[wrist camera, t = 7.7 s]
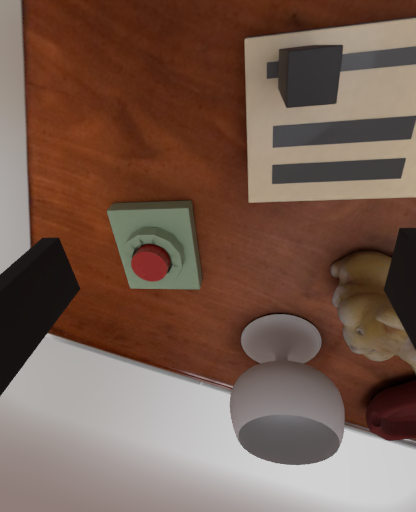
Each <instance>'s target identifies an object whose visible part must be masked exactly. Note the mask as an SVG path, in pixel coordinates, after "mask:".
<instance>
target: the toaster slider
mask: <svg viewBox="0 0 416 512" xmlns="http://www.w3.org/2000/svg"><path fill="white" fill-rule="evenodd" d="M342 53H343V45H310V46H301V47H292V48H283V49H279V68H278V90H279V92H280V94H281V97H282V99H283V101H284V104H285V106H286V108H293V107H305V106H317V105H329V104H336V102H337V94H338V86H339V78H340V69H341V61H342Z"/></svg>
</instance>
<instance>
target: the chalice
mask: <svg viewBox="0 0 416 512" xmlns="http://www.w3.org/2000/svg"><path fill="white" fill-rule="evenodd" d="M321 341H322V340H321V336H320V333H319V332H318V330H317V329H316V328H315V327H314V326H313V325H312V324H311V323H310V322H308V321H306V320H304V319H302V318H299V317H296V316H292V315H285V314H274V315H268V316H264V317H261V318H259V319H256V320H255V321H253V322H251V323H250V324H249V325H248V326H247V327H246V328H245V329H244V331H243V333H242V336H241V345H242V347H243V349H244V351H245V352H246V354H247V355H248V356H249V357H251V358H252V359H253V360H255V361H257V362H259V363H261V364H258V365H255V366H253V367H251V368H249V369H248V370H247V371H245V372H244V373H243V374H242V375H241V376H240V377H239V378H238V379H237V381H236V383H235V384H234V386H233V388H232V391H231V398H230V412H231V419H232V423H233V427H234V430H235V433H236V436H237V438H238V440H239V442H240V444H241V445H242V446H243V448H244V449H246V450H247V451H248V452H250V453H251V454H253V455H255V456H257V457H259V458H261V459H264V460H267V461H271V462H275V463H280V464H290V465H302V464H311V463H317V462H319V461H323V460H325V459H327V458H329V457H331V456H333V454H335V453H336V452H337V450H338V448H339V446H340V444H341V441H342V438H343V433H344V405H343V401H342V398H341V395H340V392H339V390H338V389H337V387H336V386H335V385H334V383H333V382H332V381H331V379H329V378H328V377H327V376H326V375H324V374H323V373H322V372H321V371H319V370H317V369H315V368H313V367H312V366H309V365H306V364H304V363H306V362H308V361H309V360H311V359H312V358H314V357H315V356H316V354H317V353H318V352H319V350H320V348H321Z"/></svg>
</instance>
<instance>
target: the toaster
mask: <svg viewBox="0 0 416 512" xmlns="http://www.w3.org/2000/svg"><path fill="white" fill-rule="evenodd" d="M244 45H245V83H246V121H247V159H248V197H249V203H254V202H284V201H314V200H344V199H374V198H404V197H416V17H410V18H402V19H394V20H385V21H377V22H369V23H361V24H353V25H344V26H336V27H328V28H320V29H312V30H303V31H295V32H287V33H279V34H270V35H262V36H254V37H246V38H245V40H244ZM310 45H343V53H342V61H341V69H340V78H339V86H338V94H337V102H336V104H329V105H317V106H305V107H293V108H286V106H285V104H284V101H283V99H282V97H281V94H280V92H279V90H278V68H279V49H283V48H292V47H301V46H310Z"/></svg>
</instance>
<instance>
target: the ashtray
mask: <svg viewBox="0 0 416 512" xmlns="http://www.w3.org/2000/svg"><path fill="white" fill-rule="evenodd" d="M366 421H367V425H368V427H369V430H370V431H371V432H372V433H374V434H376V435H378V436H380V437H382V438H384V439H385V440H389V441H393V440H401V439H409V438H416V380H413V381H410V382H407V383H405V384H402V385H398V386H394V387H391V388H388V389H386V390H384V391H382V392H380V393H379V394H377V395H375V396H373V397H372V398H371V402H370V404H369V405H368V407H367V410H366Z"/></svg>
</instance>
